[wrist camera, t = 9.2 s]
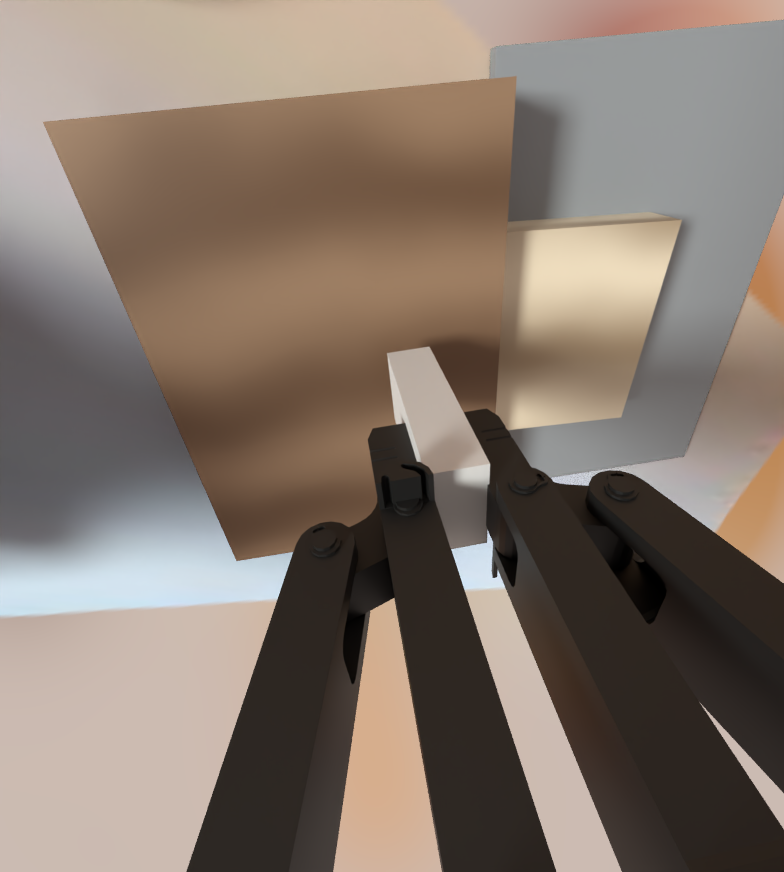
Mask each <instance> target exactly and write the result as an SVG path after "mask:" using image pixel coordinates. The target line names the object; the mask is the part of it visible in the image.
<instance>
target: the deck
mask: <svg viewBox="0 0 784 872" xmlns="http://www.w3.org/2000/svg"><path fill="white" fill-rule="evenodd" d="M516 80H517V76H513V77H502V78H492V79H482V80H471V81H461V82H451V83H440V84H430V85H420V86H409V87H399V88H389V89H378V90H368V91H358V92H348V93H337V94H327V95H317V96H306V97H296V98H286V99H275V100H265V101H255V102H244V103H234V104H224V105H213V106H203V107H193V108H182V109H172V110H162V111H152V112H141V113H131V114H121V115H110V116H100V117H90V118H79V119H69V120H59V121H48V122H43V123H44V125H45V128H46V130H47V132H48V135H49V137H50V139H51V141H52V144H53V146H54V148H55V150H56V153H57V155H58V157H59V160H60V162H61V164H62V166H63V169H64V171H65V173H66V175H67V178H68V180H69V182H70V184H71V187H72V189H73V191H74V194H75V196H76V198H77V200H78V203H79V205H80V207H81V209H82V212H83V214H84V216H85V218H86V221H87V223H88V225H89V228H90V230H91V232H92V234H93V237H94V239H95V241H96V243H97V246H98V248H99V250H100V252H101V255H102V257H103V259H104V262H105V264H106V266H107V268H108V271H109V273H110V275H111V277H112V280H113V282H114V284H115V286H116V289H117V291H118V293H119V296H120V298H121V300H122V302H123V305H124V307H125V309H126V311H127V314H128V316H129V318H130V320H131V323H132V325H133V327H134V330H135V332H136V334H137V336H138V339H139V341H140V343H141V345H142V348H143V350H144V352H145V354H146V357H147V359H148V361H149V364H150V366H151V368H152V370H153V373H154V375H155V377H156V379H157V382H158V384H159V386H160V388H161V391H162V393H163V395H164V398H165V400H166V402H167V404H168V407H169V409H170V411H171V413H172V416H173V418H174V420H175V422H176V425H177V427H178V429H179V432H180V434H181V436H182V438H183V441H184V443H185V445H186V447H187V450H188V452H189V454H190V456H191V459H192V461H193V463H194V466H195V468H196V470H197V472H198V475H199V477H200V479H201V481H202V484H203V486H204V488H205V490H206V493H207V495H208V497H209V500H210V502H211V504H212V506H213V509H214V511H215V513H216V515H217V518H218V520H219V522H220V524H221V527H222V529H223V531H224V534H225V536H226V538H227V540H228V543H229V545H230V547H231V549H232V552H233V554H234V556H235V558H236V561H240V560H246V559H252V558H258V557H264V556H270V555H276V554H282V553H289V552H294V549H295V546H296V543H297V542H298V540H299V538H300V536H301V535H302V534H303V533H304V532H305V531H306V530H308V529H309V528H310V527H312V526H314V525H317V524H319V523H323V522H330V521H332V522H339V523H342V524H344V525H346V526H347V527H350V526H353V525H355V524H357V523H359V522H361V521H362V520H364V519H366V518H367V517H368V516H369V515H370V514H371V513H372V512H373V510H374V509H375V507H376V504H377V493H376V487H375V481H374V475H373V469H372V463H371V457H370V451H369V445H368V438H369V435H370V433H371V431H372V429H373V428H378V427H384V426H390V425H396V421H395V417H394V408H393V400H392V391H391V382H390V374H389V365H388V356H387V353H391V352H398V351H404V350H410V349H417V348H423V347H430V349H431V351H432V353H433V354H434V356H435V358H436V360H437V362H438V364H439V366H440V368H441V370H442V372H443V374H444V376H445V378H446V380H447V382H448V383H449V385H450V387H451V389H452V391H453V393H454V395H455V397H456V399H457V401H458V403H459V405H460V407H461V409H462V410H463V412H468V411H474V410H480V409H486V408H487V409H488V410H490V411H492V412H493V413H495V414H496V399H497V383H498V367H499V351H500V335H501V319H502V303H503V287H504V271H505V255H506V239H507V224H508V208H509V192H510V176H511V160H512V144H513V128H514V112H515V96H516Z"/></svg>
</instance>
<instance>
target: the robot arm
mask: <svg viewBox="0 0 784 872" xmlns="http://www.w3.org/2000/svg"><path fill="white" fill-rule="evenodd" d="M387 356H388V365H389V374H390V382H391V391H392V400H393V408H394V417H395V421H396V425H390V426H384V427H378V428H373V429H372V431H371V433H370V435H369V438H368V445H369V451H370V457H371V463H372V469H373V475H374V481H375V487H376V493H377V504H376V507H375V509H374V510H373V512H372V513H371V514H370V515H369V516H368V517H367V518H366V519H364V520H362V521H361V522H359V523H357V524H355V525H353V526H350V527H347V526H346V525H344V524H342V523H339V522H332V521H330V522H323V523H319V524H317V525H314V526H312V527H310V528H309V529H308V530H306V531H305V532H304V533H303V534H302V535H301V536H300V538H299V540H298V542H297V543H296V546H295V549H294V552H293V555H292V558H291V561H290V564H289V567H288V570H287V573H286V576H285V579H284V582H283V585H282V588H281V591H280V594H279V597H278V600H277V603H276V606H275V609H274V612H273V615H272V618H271V621H270V624H269V627H268V630H267V633H266V636H265V639H264V642H263V645H262V648H261V651H260V654H259V657H258V660H257V663H256V666H255V669H254V671H253V674H252V677H251V681H250V684H249V687H248V689H247V692H246V696H245V698H244V701H243V704H242V707H241V711H240V713H239V716H238V719H237V722H236V725H235V728H234V731H233V734H232V738H231V740H230V743H229V746H228V749H227V752H226V755H225V758H224V761H223V764H222V767H221V770H220V773H219V776H218V779H217V782H216V785H215V788H214V791H213V794H212V797H211V800H210V803H209V806H208V809H207V812H206V815H205V818H204V821H203V824H202V827H201V830H200V833H199V836H198V839H197V842H196V845H195V848H194V851H193V854H192V857H191V860H190V863H189V866H188V869H187V872H333V868H334V860H335V854H336V847H337V840H338V834H339V827H340V819H341V813H342V805H343V798H344V791H345V784H346V778H347V770H348V763H349V756H350V750H351V743H352V736H353V729H354V721H355V715H356V707H357V701H358V694H359V687H360V679H361V673H362V666H363V659H364V652H365V644H366V638H367V631H368V624H369V617H370V610H372V609H374V608H376V607H378V606H379V605H382V604H383V603H385V602H387V601H389V600H390V599H393V598H395V604H396V610H397V616H398V621H399V627H400V632H401V638H402V644H403V650H404V656H405V661H406V667H407V673H408V679H409V684H410V689H411V696H412V702H413V707H414V713H415V718H416V725H417V730H418V735H419V742H420V747H421V753H422V759H423V764H424V771H425V776H426V782H427V787H428V793H429V799H430V805H431V811H432V817H433V822H434V828H435V834H436V839H437V845H438V850H439V856H440V862H441V868H442V872H556V869H555V866H554V863H553V860H552V857H551V854H550V851H549V848H548V845H547V842H546V839H545V836H544V833H543V829H542V826H541V823H540V820H539V817H538V814H537V811H536V808H535V805H534V802H533V799H532V796H531V793H530V790H529V787H528V783H527V780H526V777H525V774H524V771H523V768H522V765H521V762H520V759H519V756H518V753H517V750H516V747H515V744H514V741H513V738H512V734H511V731H510V729H509V726H508V722H507V719H506V716H505V713H504V710H503V707H502V704H501V701H500V698H499V695H498V692H497V689H496V686H495V682H494V679H493V677H492V674H491V670H490V667H489V664H488V661H487V658H486V655H485V652H484V649H483V646H482V643H481V640H480V637H479V633H478V631H477V627H476V624H475V622H474V618H473V615H472V612H471V609H470V606H469V603H468V600H467V597H466V594H465V591H464V588H463V584H462V581H461V578H460V575H459V572H458V569H457V566H456V563H455V560H454V557H453V554H452V551H451V549H454V548H460V547H465V546H470V545H476V544H481V543H487V529H488V531H489V534H490V536H491V538H492V541H493V557H492V575H493V578H495V577H497V570H499V573H500V575H501V578H502V580H503V583H504V585H505V588H506V590H507V592H508V595H509V597H510V599H511V602H512V605H513V607H514V609H515V612H516V614H517V617H518V619H519V622H520V624H521V627H522V629H523V631H524V634H525V636H526V639H527V641H528V643H529V646H530V648H531V651H532V653H533V656H534V658H535V660H536V663H537V666H538V668H539V670H540V673H541V675H542V678H543V680H544V683H545V685H546V687H547V690H548V692H549V695H550V697H551V700H552V702H553V705H554V707H555V709H556V712H557V714H558V717H559V719H560V721H561V724H562V726H563V729H564V731H565V734H566V736H567V739H568V741H569V744H570V746H571V748H572V751H573V753H574V756H575V758H576V761H577V763H578V766H579V768H580V770H581V773H582V775H583V778H584V780H585V782H586V785H587V788H588V790H589V792H590V795H591V797H592V800H593V802H594V805H595V807H596V809H597V812H598V814H599V817H600V819H601V821H602V824H603V826H604V829H605V831H606V834H607V836H608V839H609V841H610V844H611V846H612V848H613V851H614V853H615V856H616V858H617V860H618V863H619V866H620V868H621V870H622V872H784V829H783V828H782V826H781V825H780V823H779V822H778V820H777V819H776V817H775V816H774V814H773V813H772V811H771V810H770V808H769V806H768V805H767V804H766V802H765V801H764V799H763V798H762V796H761V794H760V793H759V791H758V790H757V788H756V787H755V785H754V784H753V782H752V781H751V779H750V778H749V776H748V775H747V773H746V772H745V770H744V769H743V767H742V766H741V764H740V763H739V761H738V760H737V758H736V757H735V755H734V754H733V752H732V751H731V749H730V748H729V747H728V745H727V743H726V742H725V740H724V739H723V737H722V736H721V734H720V733H719V731H718V730H717V728H716V727H715V725H714V724H713V722H712V721H711V719H710V718H709V716H708V715H707V713H706V711H705V710H704V709H703V707H702V705H703V706H704V707H705V708H706V710H707V711H708V712H709V713H710V714H711V715H712V716H713V717H714V718H715V719H716V720H717V721H718V723H720V725H721V726H722V727H723V728H724V729H725V730H726V731H727V732H728V733H729V734H730V735H731V737H732V738H733V739H734V740H735V741H736V742H737V743H738V744H739V745H740V746H741V747H742V748H743V749H744V751H745V752H746V753H747V754H748V755H749V756H750V757H751V758H752V759H753V760H754V761H755V763H756V764H757V765H758V766H759V767H760V768H761V769H762V770H763V771H764V772H765V773H766V774H767V776H769V778H770V779H771V780H772V781H773V782H774V783H775V784H776V785H777V786H778V787H779V788H780V790H782V792H783V793H784V583H782V582H781V581H779V580H778V579H776V578H775V577H774V576H773V575H771V574H770V573H768V572H767V571H766V570H765V569H763V568H762V567H760V566H759V565H758V564H756V563H755V562H754V561H752V560H751V559H750V558H748V557H747V556H745V555H744V554H743V553H741V552H740V551H739V550H737V549H736V548H734V547H733V546H732V545H731V544H729V543H728V542H726V541H725V540H724V539H722V538H721V537H720V536H718V535H717V534H716V533H714V532H713V531H712V530H710V529H709V528H707V527H706V526H705V525H703V524H702V523H701V522H699V521H698V520H697V519H695V518H694V517H692V516H691V515H690V514H688V513H687V512H686V511H684V510H683V509H682V508H680V507H679V506H678V505H676V504H675V503H673V502H672V501H671V500H669V499H668V498H667V497H665V496H664V495H663V494H661V493H660V492H658V491H657V490H656V489H654V488H653V487H652V486H650V485H649V484H648V483H646V482H645V481H644V480H642V479H640V478H638V477H636V476H635V475H633V474H629V473H626V472H622V471H610V470H609V471H604V472H599V473H598V474H596V475H595V476H593V477H592V479H591V481H590V483H589V486H582V485H566V484H559V483H555V482H553V481H552V479H551V478H550V477H549V476H548V475H547V474H546V473H544V472H542V471H540V470H538V469H536V468H532V467H531V466H530V464H529V463H528V461H527V460H526V458H525V457H524V455H523V453H522V452H521V450H520V449H519V447H518V445H517V444H516V442H515V441H514V439H513V438H511V434H510V433H509V431H508V430H507V429H506V427H505V425H504V423H503V422H502V420H501V419H500V417H499V416H498V415H496V414H495V413H493V412H492V411H490V410H488V409H487V408H486V409H480V410H474V411H468V412H463V410H462V409H461V407H460V405H459V403H458V401H457V399H456V397H455V395H454V393H453V391H452V389H451V387H450V385H449V383H448V382H447V380H446V378H445V376H444V374H443V372H442V370H441V368H440V366H439V364H438V362H437V360H436V358H435V356H434V354H433V353H432V351H431V349H430V347H423V348H417V349H410V350H404V351H398V352H391V353H387ZM700 703H701V704H702V705H701V704H700Z"/></svg>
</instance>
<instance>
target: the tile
mask: <svg viewBox="0 0 784 872" xmlns="http://www.w3.org/2000/svg"><path fill="white" fill-rule="evenodd" d="M681 222H682V220H680V219H676V218H672V217H668V216H664V215H660V214H656V213H652V212H643V213H628V214H613V215H599V216H584V217H570V218H555V219H540V220H526V221H511V222H508V224H507V239H506V255H505V271H504V287H503V303H502V319H501V335H500V351H499V367H498V383H497V399H496V415H498V416H499V417H500V419H501V420H502V422H503V423H504V425H505V427H506V429H507V430H514V429H522V428H531V427H540V426H549V425H558V424H567V423H576V422H584V421H593V420H602V419H611V418H620V417H621V416H622V413H623V410H624V406H625V403H626V400H627V397H628V394H629V390H630V387H631V384H632V381H633V377H634V374H635V371H636V368H637V364H638V361H639V358H640V355H641V351H642V348H643V345H644V342H645V338H646V335H647V332H648V329H649V325H650V322H651V319H652V316H653V312H654V309H655V306H656V303H657V300H658V296H659V293H660V290H661V287H662V283H663V280H664V277H665V274H666V270H667V267H668V264H669V261H670V257H671V254H672V251H673V248H674V244H675V241H676V238H677V235H678V231H679V228H680V225H681Z"/></svg>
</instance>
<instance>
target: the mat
mask: <svg viewBox="0 0 784 872" xmlns="http://www.w3.org/2000/svg"><path fill="white" fill-rule="evenodd" d="M513 76H517V80H516V96H515V112H514V128H513V144H512V160H511V176H510V192H509V208H508V222H511V221H526V220H540V219H555V218H570V217H584V216H599V215H613V214H628V213H643V212H652V213H656V214H660V215H664V216H668V217H672V218H676V219H680V220H682V222H681V225H680V228H679V231H678V235H677V238H676V241H675V244H674V248H673V251H672V254H671V257H670V261H669V264H668V267H667V270H666V274H665V277H664V280H663V283H662V287H661V290H660V293H659V296H658V300H657V303H656V306H655V309H654V312H653V316H652V319H651V322H650V325H649V329H648V332H647V335H646V338H645V342H644V345H643V348H642V351H641V355H640V358H639V361H638V364H637V368H636V371H635V374H634V377H633V381H632V384H631V387H630V390H629V394H628V397H627V400H626V403H625V406H624V410H623V413H622V416H621V417H620V418H611V419H602V420H593V421H584V422H576V423H567V424H558V425H549V426H540V427H531V428H522V429H514V430H508V431H509V433H510V434H511V438H513V439H514V441H515V442H516V444H517V445H518V447H519V449H520V450H521V452H522V453H523V455H524V457H525V458H526V460H527V461H528V463H529V464H530V466H531V467H532V468H536V469H538V470H540V471H542V472H544V473H546V474H547V475H548V476H549V477H550V478H552V477H558V476H564V475H571V474H577V473H583V472H589V471H596V470H602V469H608V468H615V467H621V466H627V465H633V464H640V463H646V462H652V461H659V460H665V459H671V458H678V457H684V455H685V452H686V450H687V447H688V445H689V442H690V439H691V437H692V434H693V431H694V429H695V426H696V424H697V421H698V418H699V416H700V413H701V410H702V408H703V405H704V403H705V400H706V397H707V395H708V392H709V389H710V387H711V384H712V382H713V379H714V376H715V374H716V371H717V368H718V366H719V363H720V361H721V358H722V355H723V353H724V350H725V347H726V345H727V342H728V340H729V337H730V334H731V332H732V329H733V327H734V324H735V321H736V319H737V316H738V313H739V311H740V308H741V306H742V303H743V300H744V298H745V295H746V292H747V290H748V287H749V285H750V282H751V279H752V277H753V274H754V271H755V269H756V266H757V263H758V261H759V258H760V256H761V253H762V250H763V248H764V245H765V243H766V240H767V237H768V235H769V232H770V229H771V227H772V224H773V221H774V219H775V216H776V213H777V211H778V208H779V206H780V203H781V201H782V198H783V195H784V20H776V21H765V22H755V23H744V24H733V25H722V26H711V27H701V28H689V29H678V30H668V31H657V32H647V33H636V34H624V35H613V36H603V37H591V38H581V39H570V40H559V41H548V42H537V43H528V44H527V43H526V44H515V45H505V46H496V47H494V48H491V52H490V79H492V78H502V77H513Z"/></svg>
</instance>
